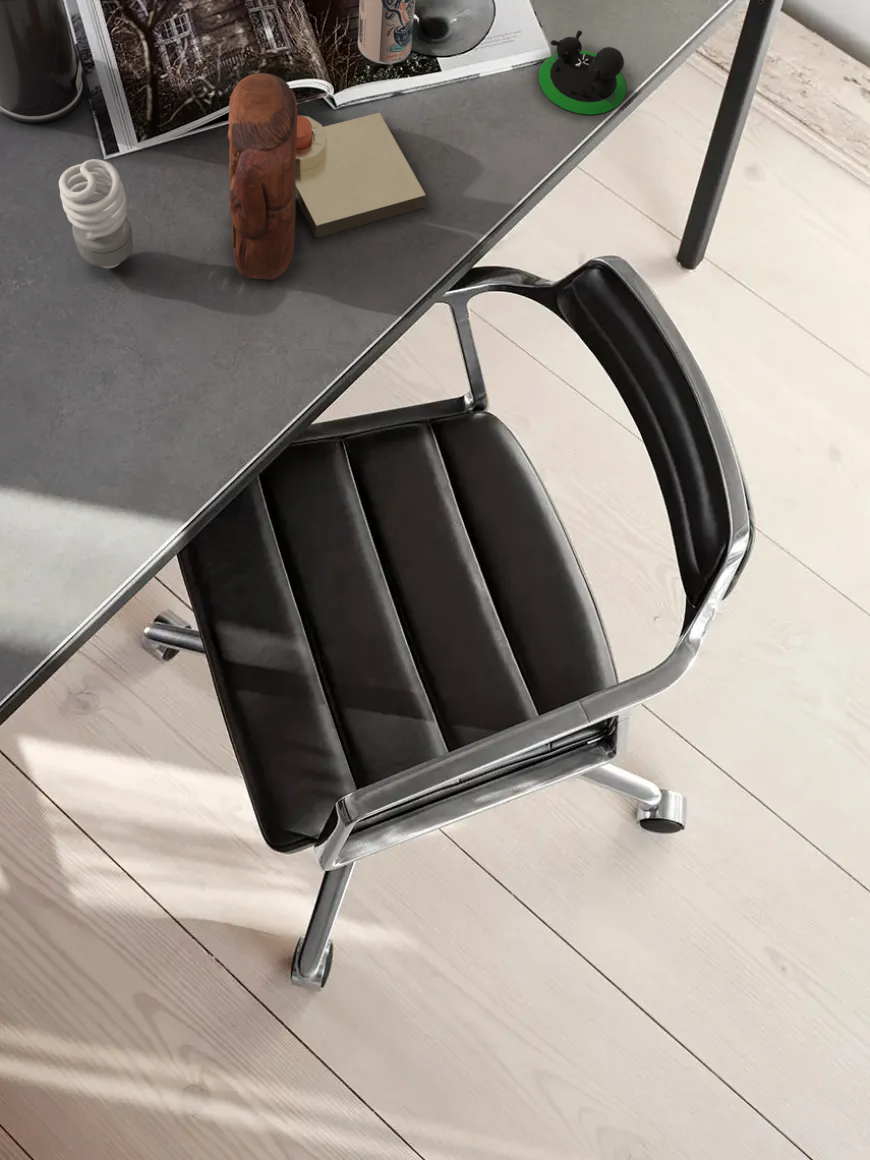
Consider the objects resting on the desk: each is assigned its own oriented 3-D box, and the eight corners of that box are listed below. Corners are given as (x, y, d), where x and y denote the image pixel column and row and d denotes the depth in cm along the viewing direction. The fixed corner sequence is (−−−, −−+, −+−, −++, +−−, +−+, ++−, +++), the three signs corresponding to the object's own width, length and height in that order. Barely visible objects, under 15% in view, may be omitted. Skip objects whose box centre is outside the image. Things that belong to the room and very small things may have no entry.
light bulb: (129, 292, 108) (108, 202, 97) (72, 280, 108) (44, 188, 97) (147, 248, 110) (128, 155, 100) (91, 236, 110) (66, 141, 100)
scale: (260, 149, 117) (259, 122, 114) (375, 119, 120) (376, 93, 117) (306, 241, 113) (306, 216, 109) (424, 208, 116) (427, 183, 113)
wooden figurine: (239, 191, 115) (225, 40, 98) (302, 196, 115) (299, 47, 99) (228, 283, 110) (212, 141, 93) (294, 288, 110) (289, 147, 94)
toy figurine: (580, 37, 128) (591, -8, 123) (644, 88, 126) (659, 44, 121) (519, 75, 125) (529, 30, 120) (584, 128, 122) (597, 84, 117)
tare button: (277, 132, 114) (277, 118, 113) (305, 125, 115) (305, 111, 113) (288, 153, 113) (288, 140, 111) (316, 146, 114) (316, 132, 112)
